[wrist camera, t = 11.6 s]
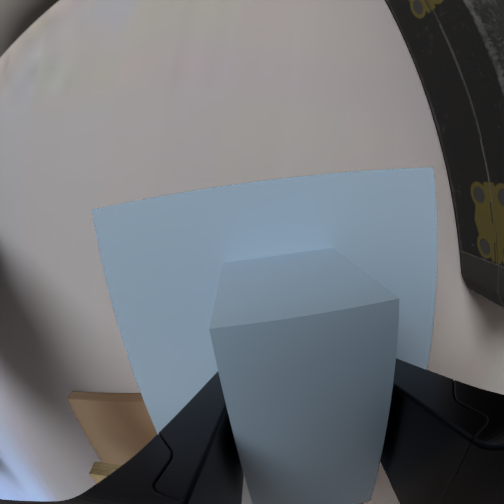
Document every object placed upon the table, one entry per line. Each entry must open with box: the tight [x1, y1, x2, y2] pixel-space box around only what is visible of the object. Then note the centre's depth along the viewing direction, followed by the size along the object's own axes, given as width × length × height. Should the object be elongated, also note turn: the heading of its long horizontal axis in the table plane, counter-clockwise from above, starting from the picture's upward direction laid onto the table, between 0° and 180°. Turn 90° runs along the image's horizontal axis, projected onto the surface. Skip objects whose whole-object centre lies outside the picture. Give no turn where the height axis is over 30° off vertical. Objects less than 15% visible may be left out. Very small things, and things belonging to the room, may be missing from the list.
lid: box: [92, 167, 437, 504], centre depth 8 cm, size 10×10×6 cm
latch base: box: [67, 391, 363, 504], centre depth 18 cm, size 22×16×6 cm
